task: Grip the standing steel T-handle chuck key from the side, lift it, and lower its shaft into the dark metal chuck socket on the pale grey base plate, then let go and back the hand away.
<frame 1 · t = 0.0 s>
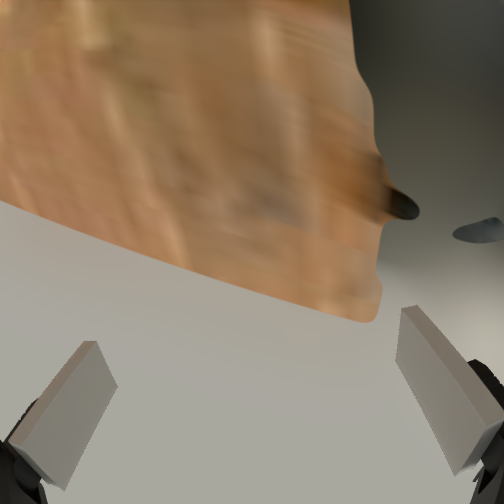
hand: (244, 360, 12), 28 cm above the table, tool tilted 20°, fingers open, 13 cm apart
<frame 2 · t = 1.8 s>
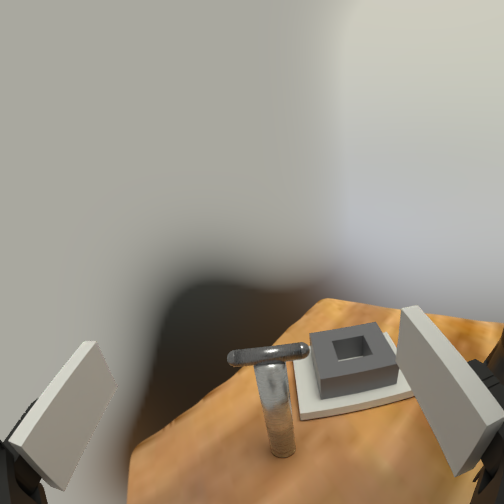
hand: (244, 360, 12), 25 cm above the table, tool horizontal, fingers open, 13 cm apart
chuck block: (350, 375, 42), on the table
chuck key: (283, 448, 31), on the table
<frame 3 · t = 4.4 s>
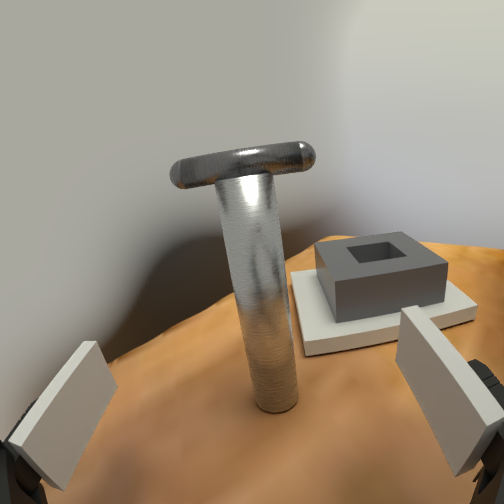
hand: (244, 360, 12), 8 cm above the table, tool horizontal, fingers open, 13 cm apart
chuck block: (375, 300, 30), on the table
chuck key: (277, 397, 20), on the table
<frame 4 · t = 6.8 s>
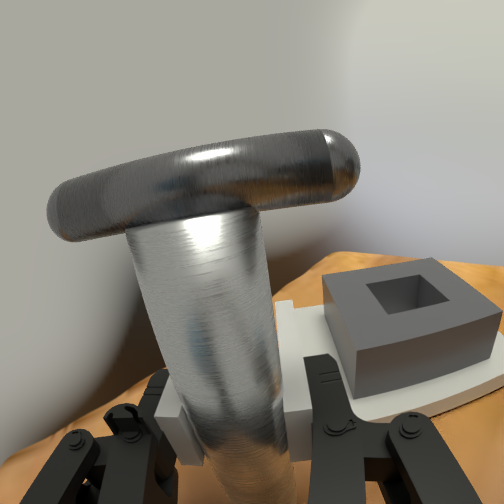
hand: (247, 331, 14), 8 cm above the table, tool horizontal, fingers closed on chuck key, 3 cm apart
chuck block: (400, 351, 22), on the table
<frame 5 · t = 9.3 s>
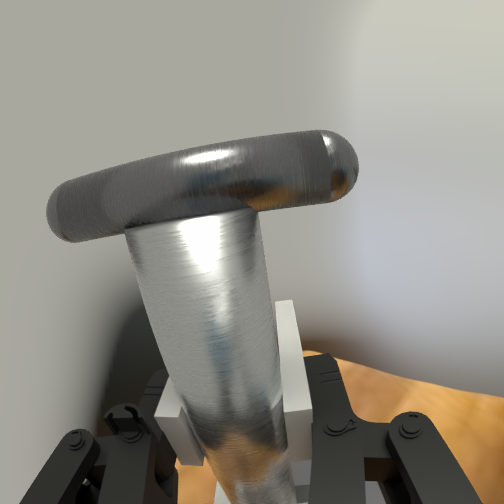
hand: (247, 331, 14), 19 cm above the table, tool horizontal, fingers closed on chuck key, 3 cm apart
when the fingers open (11 cm above the table, at t = 11.9 s): chuck key drops 1 cm, resting on chuck block.
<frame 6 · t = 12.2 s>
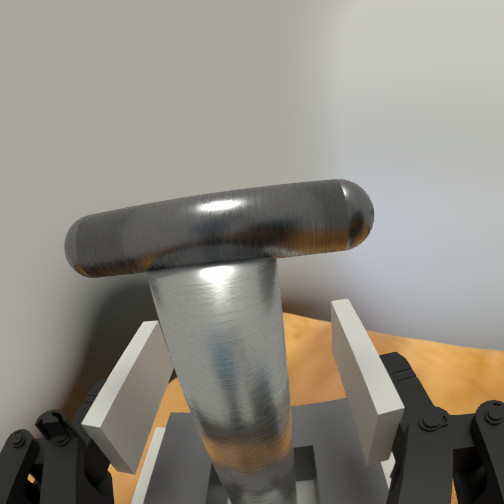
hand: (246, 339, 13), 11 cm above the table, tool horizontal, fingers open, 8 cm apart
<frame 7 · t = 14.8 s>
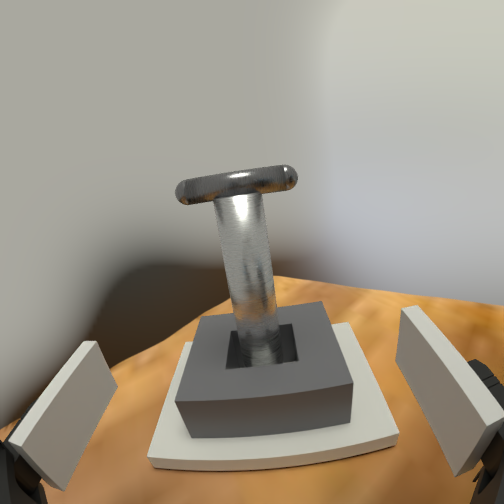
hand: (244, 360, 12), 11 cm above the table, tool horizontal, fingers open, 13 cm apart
chuck block: (270, 395, 23), on the table
chuck key: (267, 383, 23), point 2 cm above the table, touching chuck block
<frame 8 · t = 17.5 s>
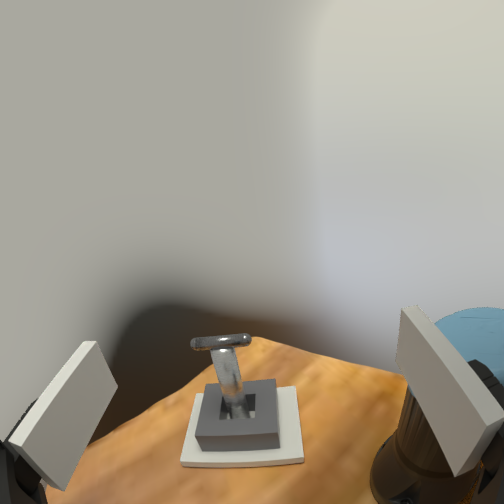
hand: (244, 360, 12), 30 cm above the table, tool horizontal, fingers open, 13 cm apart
chuck block: (244, 429, 41), on the table
chuck key: (242, 423, 40), point 2 cm above the table, touching chuck block
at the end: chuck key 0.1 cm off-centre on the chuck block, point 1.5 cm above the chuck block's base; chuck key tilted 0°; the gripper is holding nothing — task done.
